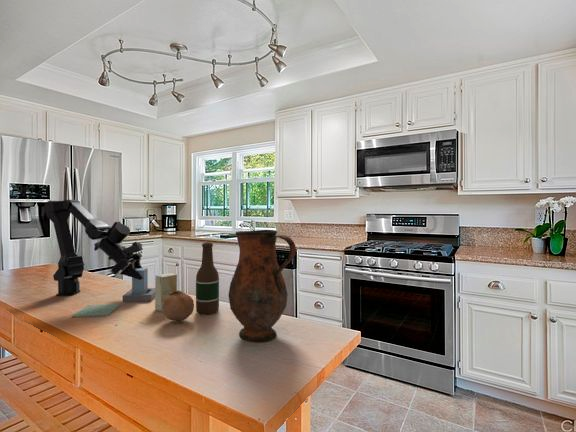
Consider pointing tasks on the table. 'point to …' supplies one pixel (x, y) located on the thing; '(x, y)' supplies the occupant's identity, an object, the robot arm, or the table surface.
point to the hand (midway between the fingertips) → (143, 277)
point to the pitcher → (259, 284)
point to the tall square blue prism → (140, 282)
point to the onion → (178, 306)
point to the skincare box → (164, 288)
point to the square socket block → (139, 296)
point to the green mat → (96, 310)
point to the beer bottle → (207, 284)
